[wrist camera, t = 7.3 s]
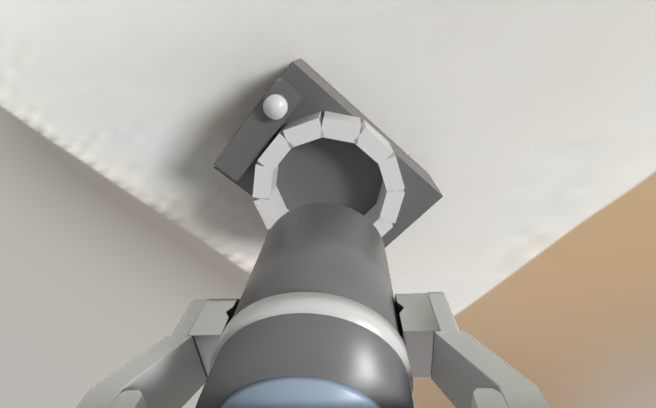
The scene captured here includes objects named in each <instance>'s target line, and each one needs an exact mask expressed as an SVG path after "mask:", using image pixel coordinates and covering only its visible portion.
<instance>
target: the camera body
mask: <svg viewBox="0 0 656 408" xmlns="http://www.w3.org/2000/svg"><path fill="white" fill-rule="evenodd" d="M214 165H215V167H214V168H216V169H217V170H218V171H220V172H221V173H222V174H224V175H225V176H226V177H228V178H229V179H230V180H232V181H233V182H235V183H236V184H237V185H239V186H240V187H241V188H243V189H244V190H245V191H247V192H248V193H249V194H251V195H252V196H253V197H254V198H255V199H254V201H253V202H254V204H255V206H256V208H257V210H258V212H259V214H260V216H261V218H262V220H263V222H264V224H265V226H266V228H267V230H268V229H271V227H272V226H273V225H274V223H275V222H276V221H277V220H278V219H279V218H280V217H281V216H283V215H284V214H285V213H287V212H288V211H290V210H292V209H294V208H297V207H299V206H302V205H306V204H311V203H334V204H339V205H343V206H346V207H348V208H351V209H353V210H355V211H357V212H359V213H360V214H362V215H363V216H365V217H366V218H367V219H368V220H369V221H370V222H371V223H372V224H373V225H374V226H375V227H376V229H377V230H378V232H379V234H380V235H381V238H382V240H383V243H384V247H386V246H387V245H388V244H390V243H391V242H392V241H393V240H394V239H395V238H396V237H398V236H399V235H400V234H401V233H402V232H403V231H404V230H405V229H407V228H408V227H409V226H410V225H411V224H412V223H413V222H414V221H416V220H417V219H418V218H419V217H420V216H421V215H422V214H424V213H425V212H426V211H427V210H428V209H429V208H430V207H431V206H433V205H434V204H435V203H436V202H437V201H438V200H439V199H440V198H442V197H443V196H442V194H441V193H440V191H439V189H438V188H437V186H436V185H435V183H434V182H433V180H432V179H431V177H430V175H429V174H428V173H427V172H426V171H425V170H424V169H423V168H421V167H420V166H419V165H418V164H417V163H416V162H415V161H414V160H413V159H412V158H410V157H409V156H408V155H407V154H406V153H405V152H404V151H403V150H402V149H401V148H399V147H398V146H397V145H396V144H395V143H394V142H393V141H392V140H391V139H389V138H388V137H387V136H386V135H385V134H384V133H383V132H382V131H381V130H380V129H378V128H377V127H376V126H375V125H374V124H373V123H372V122H371V121H370V120H368V119H367V118H366V117H365V116H364V115H363V114H362V113H361V112H360V111H359V110H357V109H356V108H355V107H354V106H353V105H352V104H351V103H350V102H349V101H348V100H346V99H345V98H344V97H343V96H342V95H341V94H340V93H339V92H338V91H336V90H335V89H334V88H333V87H332V86H331V85H330V84H329V83H328V82H327V81H325V80H324V79H323V78H322V77H321V76H320V75H319V74H318V73H317V72H315V71H314V70H313V69H312V68H311V67H310V66H309V65H308V64H307V63H306V62H304V61H303V60H302V59H298V60H296V61H293V62H292V63H291V64H290V66H289V67H288V68H287V70H286V71H285V72H284V74H283V75H282V77H280V78H278V79H276V80H275V82H274V83H273V84H272V86H271V87H270V88H269V90H268V91H267V93H266V94H265V95H264V97H263V98H262V99H261V101H260V102H259V103H258V105H257V106H256V108H255V109H254V110H253V112H252V113H251V114H250V116H249V117H248V118H247V120H246V121H245V123H244V124H243V125H242V127H241V128H240V129H239V131H238V132H237V133H236V135H235V136H234V138H233V139H232V140H231V142H230V143H229V144H228V146H227V147H226V148H225V150H224V151H223V153H222V154H221V155H220V157H219V158H218V159H217V161H216V162H215V163H214Z"/></svg>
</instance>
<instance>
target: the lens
mask: <svg viewBox="0 0 656 408" xmlns="http://www.w3.org/2000/svg"><path fill="white" fill-rule="evenodd" d="M412 390H413V378H412V372H411V367H410V362H409V357H408V353H407V349H406V346H405V344H404V342H403V340H402V338H401V335H400V330H399V324H398V318H397V313H396V308H395V302H394V296H393V291H392V285H391V280H390V274H389V269H388V263H387V258H386V252H385V247H384V243H383V240H382V238H381V235H380V234H379V232H378V230H377V229H376V227H375V226H374V225H373V224H372V223H371V222H370V221H369V220H368V219H367V218H366V217H365V216H363V215H362V214H360V213H359V212H357V211H355V210H353V209H351V208H348V207H346V206H343V205H339V204H334V203H311V204H306V205H302V206H299V207H297V208H294V209H292V210H290V211H288V212H287V213H285V214H284V215H283V216H281V217H280V218H279V219H278V220H277V221H276V222H275V223H274V225H273V226H272V227H271V229H270V231H269V233H268V235H267V237H266V240H265V242H264V244H263V247H262V249H261V252H260V254H259V256H258V259H257V261H256V264H255V266H254V268H253V271H252V273H251V275H250V278H249V280H248V283H247V285H246V288H245V290H244V292H243V295H242V297H241V299H240V302H239V304H238V306H237V309H236V311H235V314H234V316H233V318H232V319H231V321H230V322H229V323H228V324H227V326H226V327H225V329H224V331H223V333H222V335H221V337H220V339H219V342H218V344H217V346H216V348H215V351H214V353H213V356H212V359H211V363H210V373H209V376H208V378H207V380H206V383H205V385H204V388H203V390H202V393H201V395H200V397H199V400H198V402H197V405H196V408H414V406H413V400H412Z"/></svg>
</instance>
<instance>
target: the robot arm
mask: <svg viewBox="0 0 656 408" xmlns="http://www.w3.org/2000/svg"><path fill="white" fill-rule="evenodd" d="M239 302H240V299H195V300H194V301H192V302H191V304H190V306H189V307H188V309H187V310H186V312H185V314H184V315H183V317H182V319H181V320H180V322H179V324H178V325H177V327H176V328H175V330H174V332H173V334H172V335H171V337H165V338H163V339H162V340H161V341H159V342H158V343H156V344H155V345H153V346H152V347H151V348H149V349H147V350H146V351H145V352H143V353H142V354H140V355H139V356H137V357H136V358H134V359H133V360H132V361H130V362H129V363H127V364H126V365H124V366H123V367H121V368H120V369H118V370H117V371H116V372H114V373H113V374H111V375H110V376H108V377H107V378H105V379H104V380H103V381H101V382H100V383H98V384H97V385H95V386H94V387H93V388H91V389H90V390H89V391H88V392H87V394H86V395H85V396H84V398H83V399H82V400H81V402H80V403H79V404H78V406H77V407H76V408H182V407H183V405H185V403H186V402H187V401H188V400H189V399H190V398H191V397H192V396H193V395H194V394H195V393H196V392H197V391H198V390H199V389H200V388H201V386H203V384H204V383H205V382H206V380H207V378H208V376H209V373H210V363H211V359H212V356H213V353H214V351H215V348H216V346H217V344H218V342H219V339H220V337H221V335H222V333H223V331H224V329H225V327H226V326H227V324H228V323H229V322H230V321H231V319H232V318H233V316H234V314H235V311H236V309H237V306H238V304H239ZM394 302H395V308H396V313H397V318H398V324H399V330H400V335H401V338H402V340H403V342H404V344H405V346H406V349H407V353H408V357H409V362H410V367H411V372H412V377H431V379H432V380H433V381H434V382H435V384H436V385H437V386H438V387H439V388H440V389H441V391H442V392H443V393H444V394H445V395H446V397H447V398H448V399H449V400H450V401H451V402H452V404H453V405H454V406H455V407H456V408H550V407H549V405H548V404H547V402H546V400H545V398H544V396H543V395H542V393H541V391H540V389H539V388H538V386H536V385H535V384H533V383H532V382H531V381H530V380H528V379H527V378H526V377H524V376H523V375H522V374H520V373H519V372H518V371H517V370H515V369H514V368H513V367H511V366H510V365H509V364H507V363H506V362H505V361H503V360H502V359H501V358H499V357H498V356H497V355H495V354H494V353H493V352H492V351H490V350H489V349H488V348H486V347H485V346H484V345H482V344H481V343H479V342H478V341H477V340H476V339H474V338H473V337H472V336H471V335H469V334H468V333H467V332H465V331H459V329H458V326H457V324H456V321H455V318H454V316H453V313H452V311H451V308H450V306H449V303H448V301H447V298H446V296H445V294H444V293H443V292H429V293H411V294H395V298H394Z"/></svg>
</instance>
